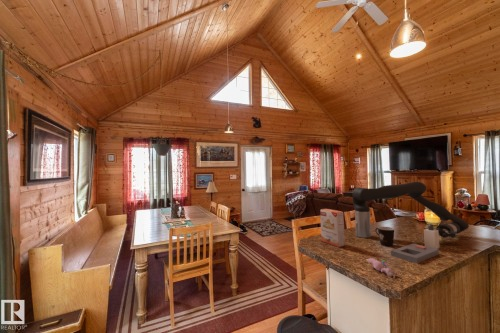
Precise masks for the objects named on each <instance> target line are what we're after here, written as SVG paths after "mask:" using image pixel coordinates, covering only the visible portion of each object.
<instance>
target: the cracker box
mask: <svg viewBox="0 0 500 333" xmlns="http://www.w3.org/2000/svg"><path fill="white" fill-rule="evenodd" d="M319 211H320V212H319V213H320V215H319V216H320V236H321V242H323V243H326V244H328V245H332V246H334V247H337V248H340V247H344V246H345V245H346V240H345V222H344V221H345V219H344V211H340V210H336V209H330V208H321V209H320V210H319Z"/></svg>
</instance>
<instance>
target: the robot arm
mask: <svg viewBox="0 0 500 333" xmlns="http://www.w3.org/2000/svg"><path fill="white" fill-rule="evenodd" d="M426 191H427V186H426V184H425V183H423V182H421V181H413V182H408V183H399V184H390V185H389V184H387V185H382V186H380V187H378V188H367V187H356V188H354V189H353V191H352V203H353V207H354V218H355V219H354V220H355V223H354V224H355V236H356V237H358V238H365V239H367V238H368V239H369V238H371V237H372V228H371V210H370V206H369V205H367V203H366V202H371V201H374V200H388V199H396V198H400V197H403V196H405V195H407V196H408V197H410V198H411V199H413V200H415V201H416V202H418V203H419V204H420V205H422V206H424V207H425V208H426V209H428V210H429V211H431V212H432V213H433V214H434V215H436V216H437V218H439V219H440V220H441V221H443V222H445V223H442V224H438V225H437V226H436V227H434V230H438V231H439V237H441V238H444V239H446V238H452V239H454V238H456V237H457V236H458V234H459V233H461V232H462V233H463V232H464V231H466V230H467V229H469V228H470V226H469V223H468V222H467V220H465V219H462V218H461V217H458V216H457V215H456V214H453V213H452V212H450V211H449V210H448V209H447V208H446V207H444V206H443V205H442V204H439V203H437V202H434V201H432V200H429V199H427V198H425V197H424V196H423V194H424V193H425V192H426ZM446 221H447V223H446ZM448 221H451V222H448ZM424 229H428V227H424V228H423V230H424Z"/></svg>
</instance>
